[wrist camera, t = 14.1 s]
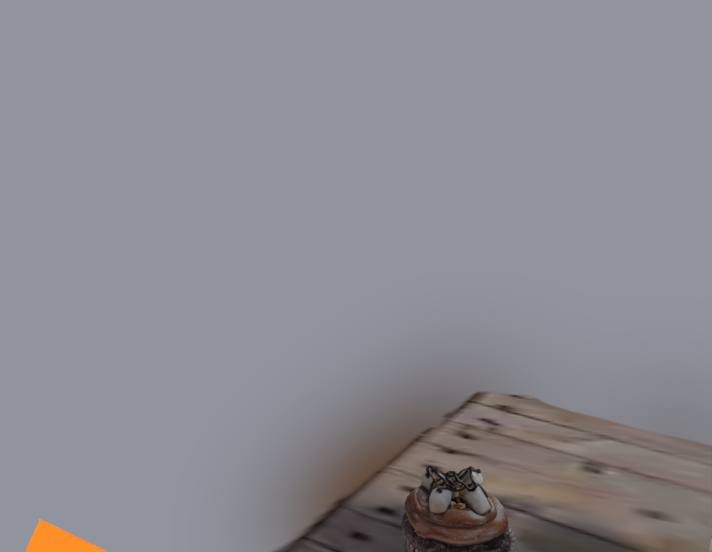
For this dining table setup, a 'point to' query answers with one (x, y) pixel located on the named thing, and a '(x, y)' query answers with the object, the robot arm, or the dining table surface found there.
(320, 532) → the dining table surface
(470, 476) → the cupcake
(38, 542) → the orange juice
